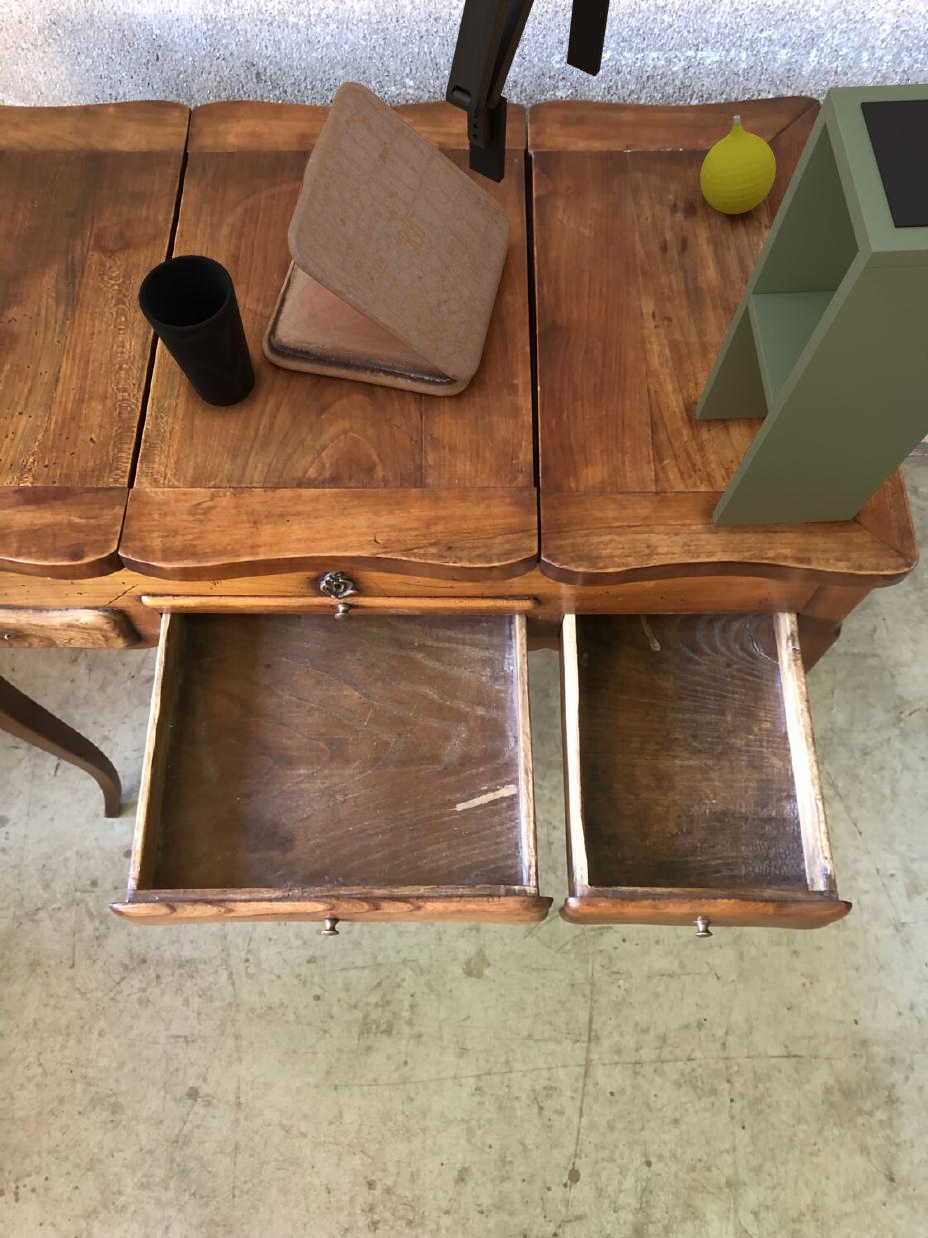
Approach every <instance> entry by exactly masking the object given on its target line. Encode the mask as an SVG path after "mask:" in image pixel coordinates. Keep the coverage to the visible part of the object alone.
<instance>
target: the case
mask: <svg viewBox="0 0 928 1238" xmlns="http://www.w3.org/2000/svg"><path fill="white" fill-rule="evenodd" d="M301 186H302V188H301V191H300V192H301V193H300V195H299V198H298V200H297V204H296V205H295V209H294V212H293V213H292V214H293V215H292V218H291V220H290V224H289V227H288V231H287V248H288V251H289V254H290V256H291V261H290V264H289V267H288V271H287V272H286V276H285V278H284V281H283V284H282V286H281V289H280V290H279V291H280V292H279V294H278V297H277V300H276V302H275V305H274V308H273V311H272V314H271V316H270V318H269V321H268V324H267V327H266V328H265V332H264V334H263V337H262V342H261V346H262V352H263V355H264V357H265V358H266V359H267V360H268V361H269V362H270V363H272V364H273V365H275V366H277V367H280V368H283V369H286V370H292V371H299V372H304V373H309V374H316V375H321V376H322V375H323V376H327V377H334V378H340V379H347V380H352V381H357V382H364V383H368V384H374V385H378V386H384V387H390V388H393V389H398V390H404V391H409V392H415V393H418V394H419V393H420V394H425V395H429V396H437V397H452V396H455V395H458V394H460V393H462V392H463V391H464V390H465V389H466V388H467V387H468V386H469V384H470V382H471V381H472V378H473V377H474V376H475V374H476V373H477V372H478V369H479V366H480V365H481V364H480V363H481V359H482V355H483V351H484V347H485V343H486V338H487V334H488V330H489V325H490V322H491V318H492V313H493V310H494V305H495V302H496V298H497V293H498V290H499V287H500V283H501V278H502V274H503V270H504V267H505V262H506V260H507V256H508V252H509V247H510V244H511V238H512V226H511V222H510V219H509V217H508V214H507V212H506V211H505V209H504V208H503V207H502V205H501V204H500V203H499V202H498V201H497V200H496V199H495V198H493V197H492V196H491V195H490V194H489V193H488V192H486V191H485V190H484V189H483V188H482V187H481V186H480V185H478V184H477V182H476V181H474V180H473V179H472V178H471V177H470V176H468V174H466V173H465V172H464V171H463V170H462V169H460V168H459V167H458V165H456V164H455V163H454V162H453V161H452V160H450V159H449V158H448V157H446V155H445V154H444V153H443V152H442V151H441V150H439V149H438V148H437V147H436V146H435V145H434V144H432V143H431V141H429V140H428V139H427V138H426V137H424V136H423V135H422V134H421V133H420V132H419V131H418V130H417V129H416V128H415V127H413V125H411V124H410V123H409V122H408V121H407V120H406V119H405V118H403V117H402V116H401V115H400V114H399V113H398V112H396V111H395V109H393V108H392V107H391V106H390V105H388V104H387V103H386V102H385V101H384V100H383V99H382V98H381V97H380V96H378V94H376V93H375V92H373V90H371V89H370V88H368V86H365V85H364V84H363V83H360V82H357V81H346V82H343V83H342V84H340V85H339V87H338V89H337V90H336V91H335V94H334V97H333V100H332V103H331V105H330V109H329V112H328V115H327V118H326V121H325V123H324V124H323V127H322V128H321V131H320V134H319V135H318V137H317V139H316V140H315V141H314V143H313V145H312V148H311V151H310V153H309V155H308V158H307V160H306V163H305V166H304V170H303V172H302V177H301Z"/></svg>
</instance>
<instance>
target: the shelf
mask: <svg viewBox="0 0 928 1238" xmlns="http://www.w3.org/2000/svg"><path fill="white" fill-rule="evenodd" d="M694 410H695V417H696V421H712V420H732V419H733V420H735V419H759V418H764V420H763V422H762V424H761V426H760V428H759V429H758V431H757V432H756V434H755V436H754V437H753V440H752V442H751V443H750V445H749V447H748V448H747V450H746V452H745V454H744V456H743V457H742V460H741V462H740V463H739V465H738V467H737V468H736V470H735V472H734V474H733V476H732V477H731V479H730V481H729V483H728V485H727V487H726V488H725V491H724V492H723V493H722V495H721V497H720V499H719V501H718V503H717V505H715V506H716V507H715V508H714V510H713V512H712V513H711V516H712V523H713V527H729V526H749V525H750V526H751V525H774V524H797V523H798V524H799V523H819V522H842V521H843V522H844V521H851V520H853V518H855V516H856V515H858V513H859V512H860V511H861V510H862V509H863V507H864V506H865V505H866V503H868V502H869V501H870V499H871V498H873V496H874V495H875V494H876V493H877V492H878V491H879V489H880V488H881V487H882V486H883V485H884V484H885V483H886V482H887V481H888V480H889V478H890V477H891V476H892V475H893V473H895V472H896V470H898V468H899V467H900V465H902V464H903V462H904V461H905V460H906V459H907V458H908V457H909V456H910V455H911V454H912V452H913V451H914V450H915V449H916V448H917V447H918V446H919V445H920V444H921V442H922V441H924V439H925V438H926V436H928V83H910V84H907V83H906V84H905V83H904V84H884V85H883V84H881V85H861V86H838V87H837V86H836V87H828V90H827V92H826V94H825V97H824V99H823V101H822V103H821V107H820V109H819V112H818V115H817V116H816V118H815V121H814V123H813V127H812V128H811V131H810V133H809V135H808V137H807V140H806V143H805V145H804V147H803V150H802V151H801V155H800V156H799V159H798V162H797V164H796V167H795V169H794V171H793V174H792V176H791V179H790V181H789V184H788V186H787V188H786V191H785V193H784V195H783V197H782V200H781V203H780V205H779V207H778V209H777V212H776V214H775V217H774V220H773V221H772V224H771V227H770V229H769V231H768V233H767V237H766V239H765V241H764V243H763V246H762V248H761V250H760V253H759V256H758V258H757V260H756V263H755V265H754V267H753V269H752V272H751V274H750V277H749V279H748V281H747V284H746V287H745V289H744V291H743V294H742V296H741V299H740V301H739V304H738V306H737V309H736V311H735V312H734V315H733V318H732V320H731V323H730V325H729V327H728V330H727V332H726V335H725V337H724V340H723V342H722V344H721V346H720V348H719V351H718V354H717V356H716V358H715V361H714V363H713V366H712V368H711V370H710V373H709V375H708V378H707V380H706V383H705V385H704V387H703V390H702V392H701V395H700V397H699V399H698V401H697V404H696V406H695V409H694Z"/></svg>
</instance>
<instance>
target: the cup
mask: <svg viewBox="0 0 928 1238" xmlns="http://www.w3.org/2000/svg"><path fill="white" fill-rule="evenodd" d="M233 281H234V280H233V278H232V276H231V274H230V273H229V270H228V269H227V268H226V267H225V266H224V265H223V264H222V263H220V262H219V261H216V260H215V259H213V258H211V257H209V256H204V255H197V254H185V255H178V256H174V257H172V258H168V259H166V260H164V261H163V262H160V263H159V264H157V266H155V267H153V268H152V269H151V270H150V271H149V272H148V274H147V275H146V276H145V277H144V278H143V280H142V282H141V285H140V287H139V291H138V296H137V297H138V306H139V308H140V310H141V313H142V314H143V317H145V320H146V321H147V322H148V323H149V324H150V326H151V327H152V329H153V330H154V332H155V333H156V335H157V336H158V338H159V339H160V340H161V342H162V344H163V345H164V347H165V348H166V349H167V351H168V352H169V354H170V355H171V357H172V358H173V359H174V361H175V363H176V364H177V366H178V367H179V368H180V370H181V372H183V374H184V376H185V377H186V378H187V380H188V381H189V383H190V385H191V386H192V387H193V389H194V391H196V393H197V394H198V396H199V397H200V398H201V400H203V401H204V402H206V403H207V404H209V405H211V406H215V407H230V406H233V405H236V404H239V403H241V402H242V401H244V400H245V399H246V398H247V397H248V396H249V395H250V394H251V392H252V391H253V388H254V386H255V383H256V375H255V370H254V366H253V363H252V357H251V354H250V350H249V346H248V341H247V337H246V336H247V335H246V334H245V327H244V324H243V320H242V316H241V311H240V308H239V303H238V299H237V296H236V290H235V285H234V282H233Z"/></svg>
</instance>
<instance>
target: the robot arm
mask: <svg viewBox="0 0 928 1238" xmlns="http://www.w3.org/2000/svg"><path fill="white" fill-rule="evenodd" d="M534 3H535V0H464V4H463V5H464V6H463V10H462V14H461V19H460V25H459V28H458V33H457V37H456V44H455V48H454V53H453V58H452V61H451V62H452V63H451V66H450V72H449V76H448V80H447V85H446V91H445V95H444V96H445V97H444V98H445V99H444V100H445V101H446V102H447V103H448V104H450V105H452V106H454V107H456V108H458V109H460V110H462V111H464V112H466V120H467V121H466V124H467V125H466V126H467V130H466V131H467V133H466V135H467V139H468V153H469V155H468V157H469V159H468V160H469V161H468V163H469V164H468V165H469V167H468V169H470V170H472V171H474V172H475V173H478V174H480V175H481V176H484V177H485V178H487V179H489V180H491V181H493V182H495V183H497V184H500V183H501V182H502V180H503V179H504V178H505V173H506V172H505V171H506V145H507V119H508V117H507V116H508V98H507V97H505V96H504V95H502V93H503V90H504V88H505V85H506V81H507V79H508V75H509V73H510V71H511V67H512V65H513V62H514V59H515V56H516V54H517V50H518V49H519V45H520V42H521V39H522V36H523V34H524V31H525V28H526V25H527V23H528V20H529V17H530V14H531V11H532V8H533V6H534ZM610 3H611V0H572V4H571V15H570V25H569V32H568V33H569V35H568V43H567V53H566V62H565V64H566V65H568V66H571V67H573V68H574V69H577V70H579V71H581V72H583V73H586V74H588V75H590V76H591V77H594V78H595V77H596V76H597V75H598V74H599V73H600V72H601V68H602V67H601V66H602V59H603V52H604V45H605V38H606V31H607V23H608V18H609V17H608V16H609V10H610Z"/></svg>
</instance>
